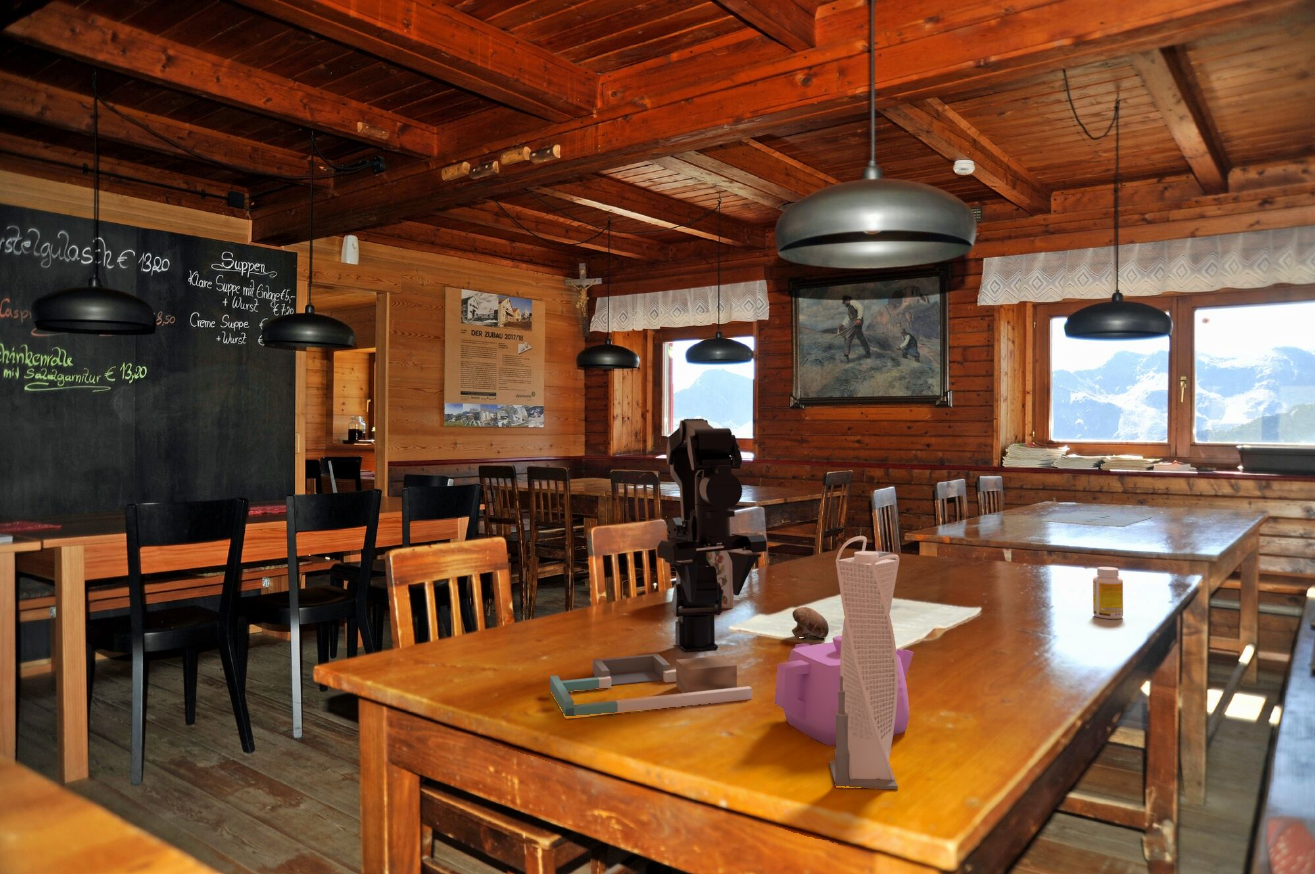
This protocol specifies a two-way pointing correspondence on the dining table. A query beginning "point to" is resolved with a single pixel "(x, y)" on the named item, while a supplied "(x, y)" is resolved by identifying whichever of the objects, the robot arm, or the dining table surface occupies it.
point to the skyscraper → (866, 671)
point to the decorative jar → (722, 575)
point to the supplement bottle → (1108, 594)
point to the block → (705, 674)
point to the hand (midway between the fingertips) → (713, 598)
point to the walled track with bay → (634, 672)
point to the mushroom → (809, 623)
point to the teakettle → (825, 689)
